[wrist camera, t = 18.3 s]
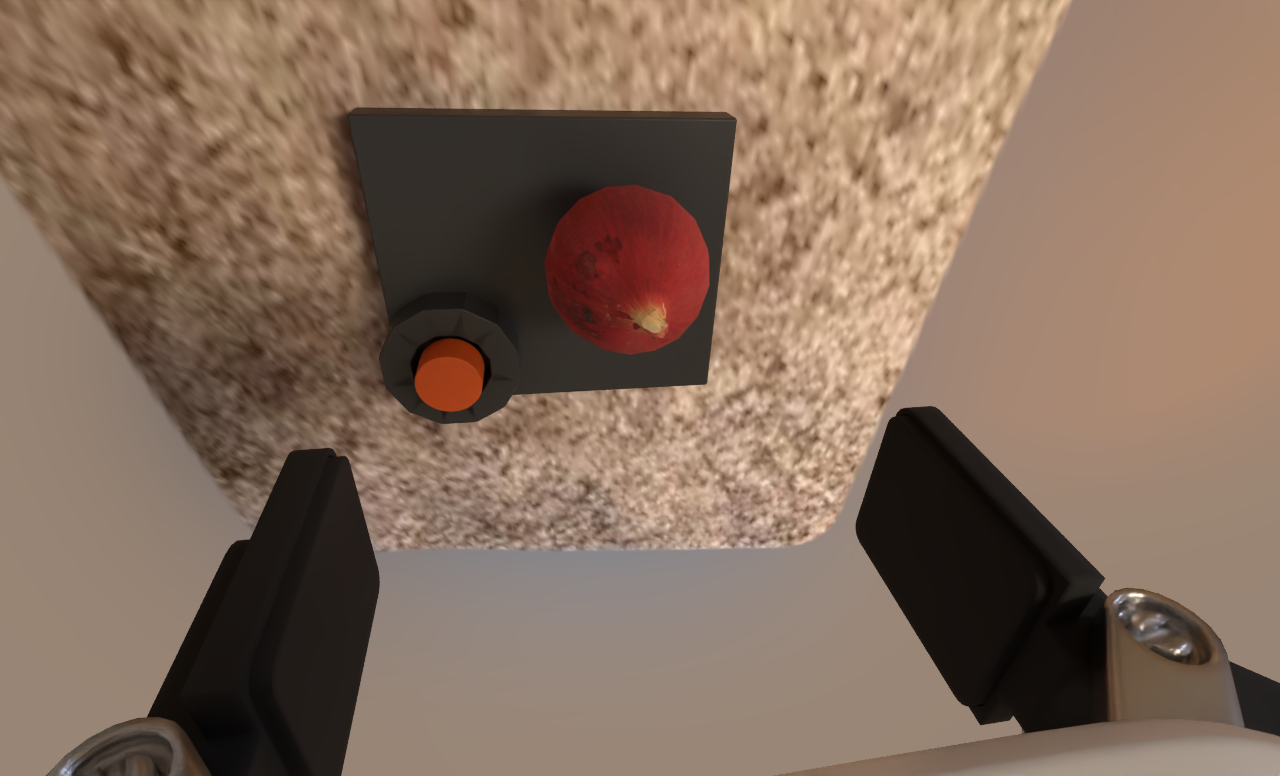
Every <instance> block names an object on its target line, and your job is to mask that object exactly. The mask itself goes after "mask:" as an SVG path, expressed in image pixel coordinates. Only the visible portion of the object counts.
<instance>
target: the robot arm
mask: <svg viewBox="0 0 1280 776" xmlns="http://www.w3.org/2000/svg"><path fill="white" fill-rule="evenodd" d="M856 534H857V537H858V539H859V542H860V543H861V545H862V547H863V548H864V550H865V551H866V553H867V555H868V556H869V558H870V560H871V561H872V563H873V564H874V566H875V568H876V569H877V571H878V572H879V574H880V576H881V577H882V579H883V581H884V582H885V584H886V585H887V587H888V589H889V590H890V592H891V594H892V595H893V597H894V598H895V600H896V602H897V603H898V605H899V607H900V608H901V610H902V611H903V613H904V614H905V616H906V618H907V619H908V621H909V623H910V624H911V626H912V628H913V629H914V631H915V632H916V634H917V636H918V637H919V639H920V640H921V642H922V644H923V645H924V647H925V649H926V650H927V652H928V653H929V655H930V657H931V658H932V660H933V662H934V663H935V665H936V666H937V668H938V670H939V671H940V673H941V675H942V676H943V678H944V679H945V681H946V683H947V684H948V686H949V688H950V689H951V691H952V692H953V694H954V696H955V697H956V698H957V700H958V701H959V702H960V703H961V704H963V705H965V706H969V708H970V710H971V711H972V713H973V714H974V716H975V717H976V719H977V721H978V722H979V724H980V725H984V724H991V723H996V722H1003V721H1009V720H1010V719H1011V718H1012V716H1014V717H1015V718H1016V720H1017V721H1018V723H1019V724H1020V726H1021V727H1022V734H1019V735H1013V736H1006V737H1000V738H994V739H989V740H982V741H976V742H970V743H964V744H958V745H952V746H946V747H941V748H935V749H928V750H923V751H916V752H911V753H904V754H898V755H892V756H887V757H880V758H874V759H868V760H862V761H856V762H851V763H845V764H839V765H833V766H827V767H822V768H816V769H810V770H804V771H798V772H793V773H786V774H780V775H775V776H1280V683H1278V682H1276V681H1273V680H1271V679H1269V678H1267V677H1264V676H1262V675H1260V674H1257V673H1255V672H1253V671H1251V670H1248V669H1246V668H1244V667H1241V666H1239V665H1237V664H1235V663H1232V662H1230V661H1229V660H1228V656H1227V652H1226V650H1225V648H1224V646H1223V644H1222V641H1221V639H1220V638H1219V637H1218V636H1217V635H1216V633H1215V632H1214V631H1213V630H1212V628H1211V627H1210V626H1209V625H1208V624H1207V623H1205V622H1204V621H1203V620H1202V619H1201V618H1200V617H1198V616H1197V615H1196V614H1195V613H1194V612H1192V611H1190V610H1189V609H1187V608H1186V607H1184V606H1182V605H1181V604H1179V603H1178V602H1176V601H1174V600H1171V599H1169V598H1167V597H1164V596H1163V595H1160V594H1158V593H1154V592H1150V591H1147V590H1143V589H1135V588H1124V589H1120V590H1115V591H1114V592H1113V593H1112V594H1111V595H1110V596H1108V597H1107V595H1106V594H1105V593H1104V592H1103V591H1102V590H1101V589H1100V588H1099V587H1100V585H1101V584H1102V582H1103V581H1104V579H1105V578H1104V577H1103V576H1102V575H1101V574H1100V573H1099V571H1098V570H1096V568H1095V567H1094V566H1093V565H1092V564H1090V562H1089V561H1088V560H1087V559H1086V558H1085V557H1084V556H1083V555H1082V554H1081V553H1080V552H1079V551H1078V550H1077V549H1076V548H1075V547H1074V546H1073V545H1072V544H1071V543H1070V542H1069V541H1068V540H1067V539H1066V538H1065V537H1064V536H1063V535H1062V534H1061V533H1060V532H1059V531H1058V530H1057V529H1056V528H1055V527H1054V526H1053V525H1052V524H1051V523H1050V522H1049V521H1048V520H1047V519H1046V518H1045V517H1044V516H1043V515H1042V514H1041V513H1040V512H1039V510H1037V508H1036V507H1035V506H1033V504H1032V503H1030V501H1029V500H1028V499H1027V498H1026V497H1025V496H1024V495H1023V494H1022V493H1021V492H1020V491H1019V490H1018V489H1017V488H1016V487H1015V486H1014V485H1013V484H1012V483H1011V482H1010V481H1009V480H1008V479H1007V478H1006V477H1005V476H1004V475H1003V474H1002V473H1001V472H1000V471H999V470H998V469H997V468H996V467H995V466H994V465H993V464H992V463H991V462H990V461H989V460H988V459H987V458H986V457H985V456H984V455H983V454H982V453H981V452H980V451H979V450H978V449H977V448H976V446H975V445H974V444H973V443H971V441H970V440H969V439H968V438H967V437H966V436H965V435H964V434H963V433H962V432H961V431H960V430H959V429H958V428H957V427H956V426H955V425H954V424H953V423H952V422H951V421H950V420H949V419H948V418H947V417H946V416H945V415H944V414H943V413H942V412H941V411H940V410H939V409H937V408H936V407H932V406H927V407H912V408H903V409H901V410H900V411H899V412H897V414H896V416H895V417H892V418H891V419H890V420H889V422H888V425H887V427H886V431H885V434H884V437H883V440H882V443H881V447H880V449H879V452H878V456H877V458H876V461H875V465H874V468H873V471H872V474H871V477H870V480H869V483H868V486H867V489H866V492H865V496H864V498H863V502H862V505H861V508H860V511H859V514H858V517H857V520H856ZM379 583H380V581H379V571H378V566H377V563H376V559H375V555H374V551H373V548H372V544H371V540H370V537H369V533H368V529H367V525H366V522H365V518H364V514H363V511H362V507H361V503H360V499H359V496H358V492H357V488H356V485H355V481H354V477H353V473H352V470H351V466H350V463H349V460H348V458H347V457H346V456H340V457H337V456H336V453H335V452H334V450H333V449H331V448H323V449H308V450H294V451H292V452H290V453H289V455H288V457H287V459H286V461H285V463H284V465H283V468H282V470H281V472H280V474H279V476H278V479H277V481H276V483H275V485H274V487H273V490H272V492H271V494H270V496H269V499H268V501H267V503H266V505H265V507H264V510H263V512H262V514H261V516H260V518H259V521H258V523H257V525H256V527H255V530H254V532H253V534H252V536H251V538H250V540H239V541H236V542H235V543H234V544H232V545H231V546H230V548H229V549H228V551H227V553H226V554H225V556H224V558H223V560H222V562H221V565H220V566H219V569H218V571H217V573H216V575H215V577H214V579H213V581H212V583H211V585H210V587H209V589H208V591H207V593H206V596H205V598H204V600H203V602H202V604H201V606H200V608H199V610H198V612H197V614H196V617H195V618H194V621H193V623H192V625H191V627H190V629H189V631H188V633H187V635H186V637H185V639H184V641H183V643H182V645H181V647H180V649H179V652H178V654H177V656H176V658H175V660H174V662H173V664H172V666H171V668H170V670H169V672H168V674H167V676H166V678H165V681H164V683H163V685H162V687H161V689H160V691H159V693H158V695H157V697H156V699H155V701H154V703H153V705H152V708H151V710H150V712H149V714H148V716H147V718H136V719H133V720H129V721H126V722H123V723H119V724H116V725H113V726H111V727H110V728H107V729H105V730H104V731H102V732H100V733H98V734H96V735H94V736H92V737H90V738H88V739H87V740H86V741H84V742H83V743H82V744H80V745H79V746H78V747H76V748H75V749H74V750H72V751H71V752H70V753H68V754H67V755H65V756H64V757H63V758H62V759H61V761H60V762H59V763H58V764H57V765H56V766H55V767H54V768H53V769H52V770H51V771H50V772H49V773H48V774H47V775H46V776H341V773H342V769H343V764H344V759H345V754H346V749H347V744H348V739H349V735H350V730H351V725H352V720H353V715H354V710H355V705H356V701H357V696H358V691H359V686H360V681H361V676H362V672H363V667H364V662H365V657H366V652H367V647H368V642H369V638H370V633H371V628H372V623H373V618H374V613H375V608H376V603H377V599H378V594H379Z"/></svg>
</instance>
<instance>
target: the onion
mask: <svg viewBox="0 0 1280 776" xmlns="http://www.w3.org/2000/svg"><path fill="white" fill-rule="evenodd" d="M544 265H545V272H546V279H547V286H548V293H549V297H550V300H551V302H552V305H553V306H554V308H555V309H556V310H557V312H558V313H559V315H560V316H561V317H562V319H563V320H564V321H565V323H566V324H567V326H568V327H569V328H570V330H572V331H573V332H574V333H575V334H577V335H578V336H580V337H582V338H583V339H585V340H587V341H589V342H590V343H592V344H594V345H595V346H597V347H599V348H601V349H603V350H606V351H612V352H618V353H623V354H629V355H632V354H637V353H643V352H648V351H654V350H657V349H659V348H661V347H663V346H665V345H667V344H669V343H671V342H673V341H675V340H677V339H679V338H680V336H681V335H682V334H683V333H684V332H685V331H686V329H687V328H688V327H689V326H690V325H691V324H692V323H693V321H694V320H695V319H696V318H697V317H698V315H699V312H700V309H701V307H702V304H703V301H704V299H705V296H706V294H707V291H708V288H709V253H708V248H707V246H706V243H705V241H704V239H703V236H702V234H701V232H700V229H699V227H698V225H697V222H696V220H695V218H694V217H692V216H691V215H690V214H689V213H688V212H687V211H686V210H685V209H684V208H683V207H682V206H681V205H680V204H679V203H678V202H677V201H676V200H675V199H673V198H672V197H671V196H669V195H666V194H663V193H659V192H656V191H653V190H650V189H647V188H644V187H641V186H638V185H623V186H608V187H605V188H603V189H600V190H598V191H596V192H594V193H592V194H590V195H588V196H585V197H583V198H581V199H579V200H578V201H577V202H576V203H575V205H574V206H573V207H572V208H571V209H570V210H569V211H568V212H567V213H566V214H565V215H564V216H563V217H562V218H561V219H560V220H559V222H558V223H557V226H556V228H555V231H554V234H553V237H552V239H551V242H550V245H549V247H548V250H547V253H546V257H545V260H544Z"/></svg>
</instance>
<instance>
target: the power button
mask: <svg viewBox="0 0 1280 776" xmlns="http://www.w3.org/2000/svg"><path fill="white" fill-rule="evenodd" d="M483 377H484V361H483V358H482V356H481V354H480V353H479V351H478V350H477V349H476V348H475V347H474V346H472V345H471V344H469V343H467V342H465V341H463V340H459V339H453V338H447V339H441V340H438V341H435V342H433V343H431V344H430V345H429V346H427V347H426V348H425V350H424V351H423V353H422V354H421V357H420V361H419V364H418V368H417V372H416V376H415V388H416V391H417V393H418V395H419V397H420V398H421V399H422V400H423V401H424V402H425V403H426V404H427V405H429V406H431V407H433V408H435V409H438V410H441V411H448V412H453V411H460V410H463V409H466V408H468V407H470V406H471V405H473V404H474V403H475V402H476V401H477V400H478V398H479V397H480V395H481V392H482V387H483Z"/></svg>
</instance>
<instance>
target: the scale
mask: <svg viewBox="0 0 1280 776" xmlns="http://www.w3.org/2000/svg"><path fill="white" fill-rule="evenodd" d="M348 122H349V126H350V131H351V136H352V141H353V146H354V151H355V156H356V161H357V166H358V171H359V176H360V181H361V186H362V191H363V196H364V201H365V206H366V210H367V215H368V220H369V225H370V230H371V235H372V240H373V245H374V250H375V255H376V260H377V265H378V270H379V275H380V280H381V285H382V289H383V294H384V299H385V304H386V309H387V314H388V319H389V324H390V330H389V332H388V334H387V336H386V339H385V341H384V344H383V347H382V349H381V352H380V354H379V361H380V365H381V370H382V374H383V379H384V384H385V387H386V389H387V390H388V391H389V392H390V393H391V394H392V395H393V396H394V397H395V398H396V399H397V400H398V401H399V402H400V403H401V404H402V405H403V406H404V407H405V408H406V409H407V410H408V411H409V412H410V413H413V414H416V415H419V416H421V417H424V418H427V419H430V420H432V421H435V422H438V423H441V424H442V423H443V424H450V423H467V422H476V421H479V420H481V419H483V418H485V417H487V416H489V415H490V414H492V413H494V412H496V411H498V410H500V409H501V408H503V407H504V406H505V405H506V404H507V402H508V401H509V399H510V397H511V396H512V395H518V394H536V393H555V392H573V391H592V390H611V389H629V388H648V387H667V386H685V385H704V384H707V378H708V370H709V361H710V352H711V343H712V334H713V325H714V317H715V308H716V299H717V290H718V281H719V272H720V264H721V255H722V246H723V237H724V228H725V220H726V211H727V202H728V193H729V184H730V175H731V167H732V158H733V149H734V140H735V131H736V122H737V120H736V118H734V117H733V116H731V115H730V114H728V113H727V112H663V111H583V110H503V109H424V108H356V109H354V110H353V111H352V112H351V113H349V114H348ZM623 185H638V186H641V187H644V188H647V189H650V190H653V191H656V192H659V193H663V194H666V195H669V196H671V197H672V198H673V199H675V200H676V201H677V202H678V203H679V204H680V205H681V206H682V207H683V208H684V209H685V210H686V211H687V212H688V213H689V214H690V215H691V216H692V217H694V218H695V220H696V222H697V225H698V227H699V229H700V232H701V234H702V236H703V239H704V241H705V243H706V246H707V248H708V253H709V288H708V291H707V294H706V296H705V299H704V301H703V304H702V307H701V309H700V312H699V315H698V317H697V318H696V319H695V320H694V321H693V323H692V324H691V325H690V326H689V327H688V328H687V329H686V331H685V332H684V333H683V334H682V335H681V336H680V338H679V339H677V340H675V341H673V342H671V343H669V344H667V345H665V346H663V347H661V348H659V349H657V350H654V351H648V352H643V353H637V354H632V355H629V354H623V353H618V352H612V351H606V350H603V349H601V348H599V347H597V346H595V345H594V344H592V343H590V342H589V341H587V340H585V339H583V338H582V337H580V336H578V335H577V334H575V333H574V332H573V331H572V330H570V328H569V327H568V326H567V324H566V323H565V321H564V320H563V319H562V317H561V316H560V315H559V313H558V312H557V310H556V309H555V308H554V306H553V305H552V302H551V300H550V297H549V293H548V286H547V279H546V272H545V265H544V260H545V257H546V253H547V250H548V247H549V245H550V242H551V239H552V237H553V234H554V231H555V228H556V226H557V223H558V222H559V220H560V219H561V218H562V217H563V216H564V215H565V214H566V213H567V212H568V211H569V210H570V209H571V208H572V207H573V206H574V205H575V203H576V202H577V201H578V200H579V199H581V198H583V197H585V196H588V195H590V194H592V193H594V192H596V191H598V190H600V189H603V188H605V187H608V186H623ZM447 338H453V339H459V340H463V341H465V342H467V343H469V344H471V345H472V346H474V347H475V348H476V349H477V350H478V351H479V353H480V354H481V356H482V358H483V361H484V377H483V387H482V392H481V395H480V397H479V398H478V400H477V401H476V402H475V403H474V404H473V405H471V406H470V407H468V408H466V409H463V410H460V411H453V412H448V411H441V410H438V409H435V408H433V407H431V406H429V405H427V404H426V403H425V402H424V401H423V400H422V399H421V398H420V397H419V395H418V393H417V391H416V388H415V376H416V372H417V368H418V364H419V361H420V357H421V354H422V353H423V351H424V350H425V348H426V347H427V346H429V345H430V344H431V343H433V342H435V341H438V340H441V339H447Z"/></svg>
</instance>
